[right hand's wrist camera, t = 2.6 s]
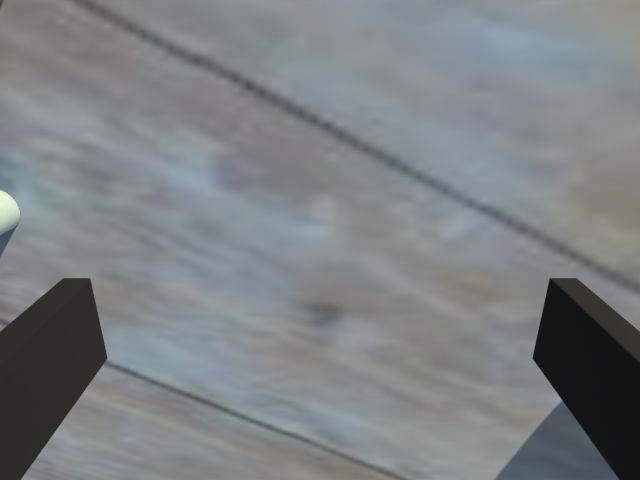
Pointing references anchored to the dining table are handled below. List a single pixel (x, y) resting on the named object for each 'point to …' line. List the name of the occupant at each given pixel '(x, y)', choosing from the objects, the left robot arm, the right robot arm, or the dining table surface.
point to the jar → (8, 213)
